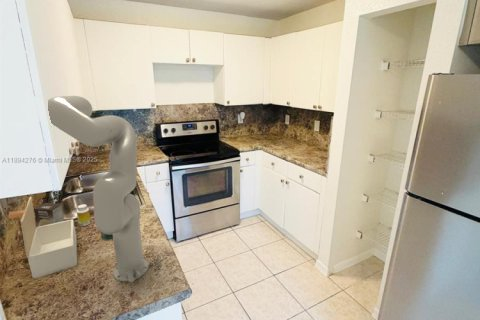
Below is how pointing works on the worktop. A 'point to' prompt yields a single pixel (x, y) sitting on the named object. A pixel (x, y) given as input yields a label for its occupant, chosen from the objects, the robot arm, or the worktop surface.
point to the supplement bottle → (83, 215)
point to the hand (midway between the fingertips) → (4, 190)
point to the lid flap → (26, 224)
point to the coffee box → (48, 214)
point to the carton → (53, 249)
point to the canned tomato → (106, 236)
